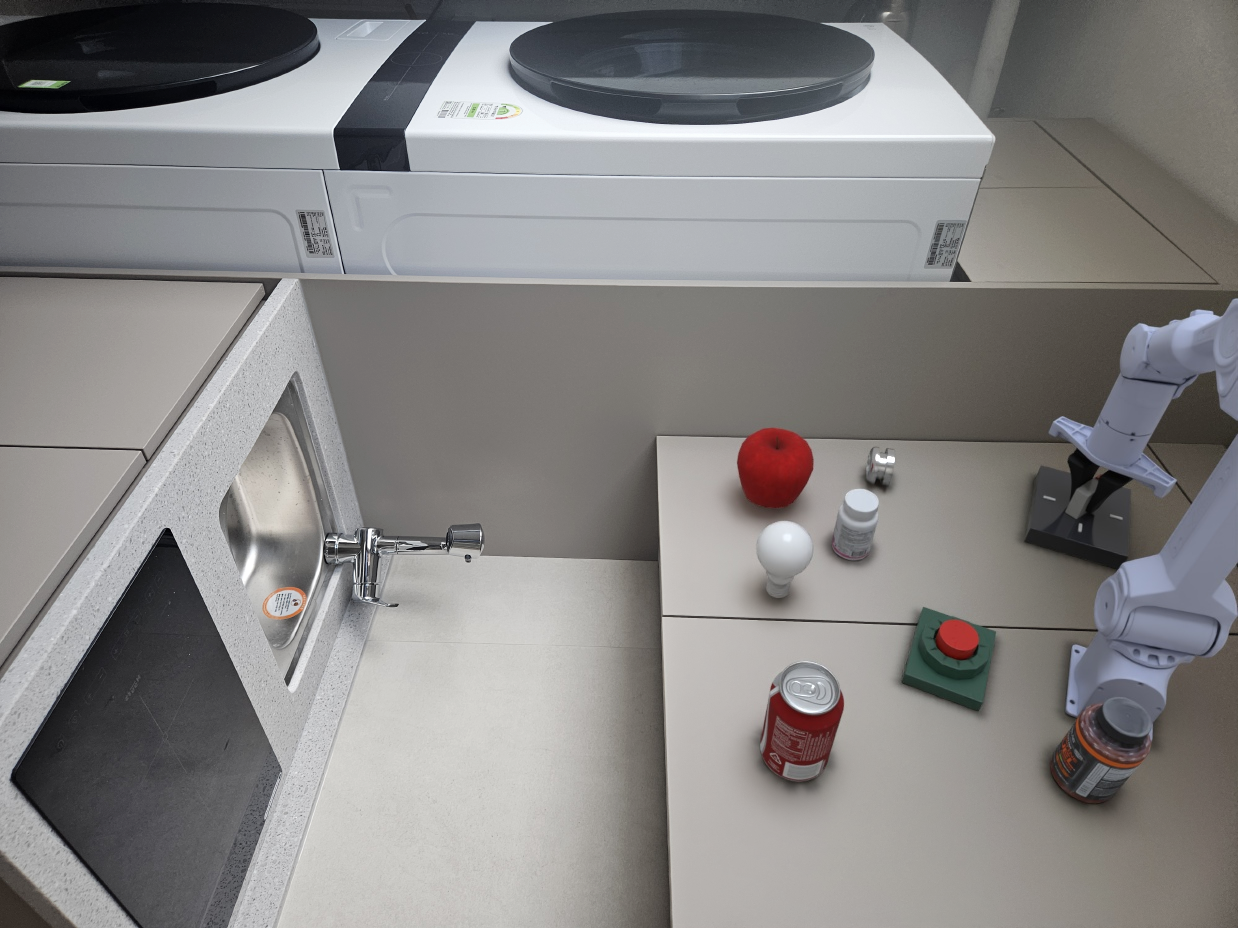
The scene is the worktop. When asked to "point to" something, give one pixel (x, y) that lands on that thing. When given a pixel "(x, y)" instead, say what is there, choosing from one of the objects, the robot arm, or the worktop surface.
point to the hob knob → (1082, 498)
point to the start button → (957, 639)
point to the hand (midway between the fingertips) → (1084, 504)
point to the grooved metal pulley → (880, 465)
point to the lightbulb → (783, 554)
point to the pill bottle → (855, 524)
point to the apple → (774, 467)
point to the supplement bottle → (1102, 749)
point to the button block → (948, 663)
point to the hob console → (1078, 521)
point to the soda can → (801, 721)
